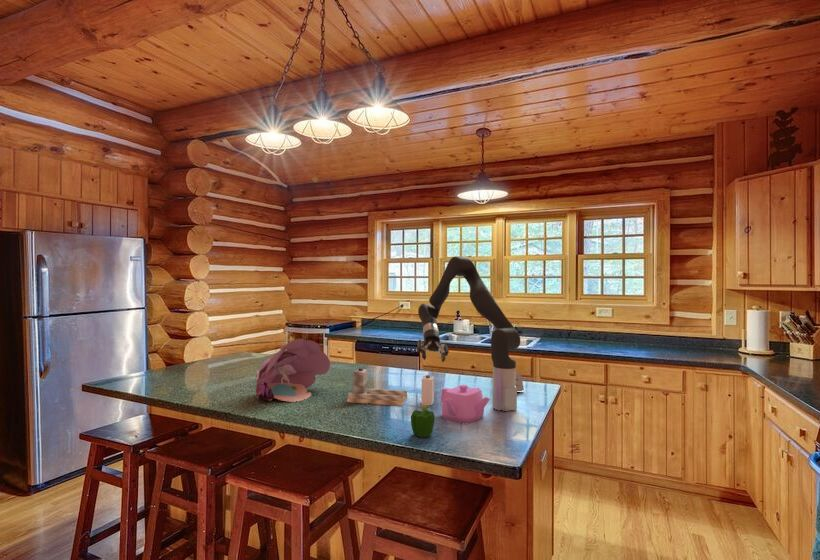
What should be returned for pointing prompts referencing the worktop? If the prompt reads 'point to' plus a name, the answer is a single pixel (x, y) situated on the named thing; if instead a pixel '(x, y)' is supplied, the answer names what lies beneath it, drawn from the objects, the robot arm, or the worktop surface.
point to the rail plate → (373, 392)
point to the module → (427, 390)
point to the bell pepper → (422, 422)
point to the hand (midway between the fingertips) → (434, 359)
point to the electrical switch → (519, 382)
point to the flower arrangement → (291, 371)
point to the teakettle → (463, 404)
